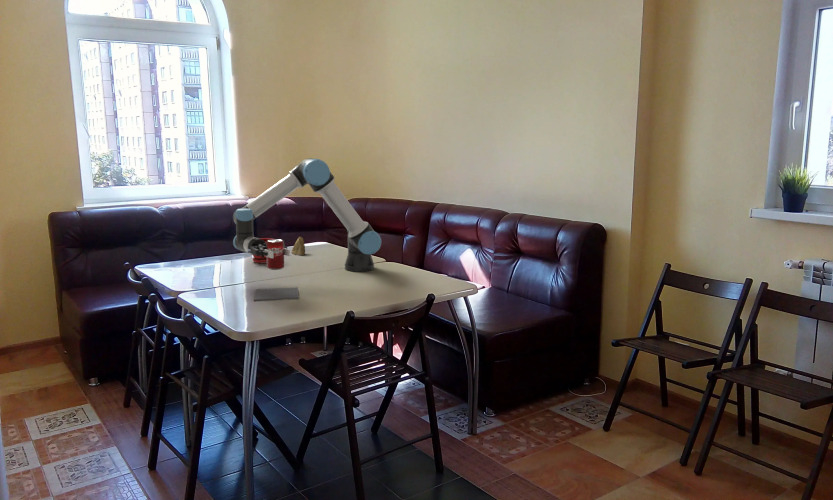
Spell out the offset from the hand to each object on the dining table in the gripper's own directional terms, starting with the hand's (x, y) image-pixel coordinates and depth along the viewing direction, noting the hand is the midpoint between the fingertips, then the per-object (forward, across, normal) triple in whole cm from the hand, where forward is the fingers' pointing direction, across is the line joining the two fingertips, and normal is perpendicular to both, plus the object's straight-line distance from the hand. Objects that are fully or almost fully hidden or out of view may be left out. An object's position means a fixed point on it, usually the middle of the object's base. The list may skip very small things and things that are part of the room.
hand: (281, 253), depth 256 cm
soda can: (-5, 0, -7) cm, 9 cm away
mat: (-5, 0, -18) cm, 19 cm away
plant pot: (-72, -29, -19) cm, 80 cm away
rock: (-79, -55, -18) cm, 98 cm away
